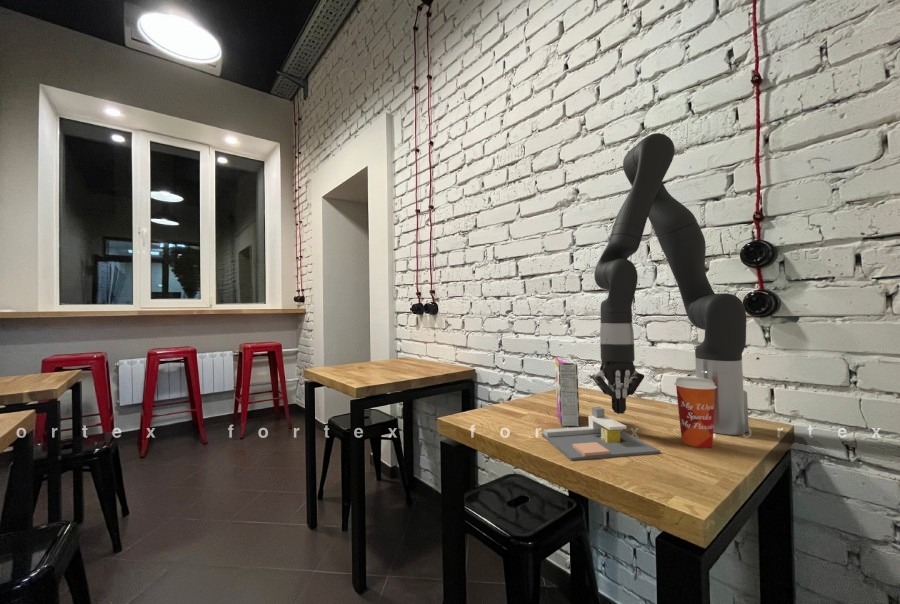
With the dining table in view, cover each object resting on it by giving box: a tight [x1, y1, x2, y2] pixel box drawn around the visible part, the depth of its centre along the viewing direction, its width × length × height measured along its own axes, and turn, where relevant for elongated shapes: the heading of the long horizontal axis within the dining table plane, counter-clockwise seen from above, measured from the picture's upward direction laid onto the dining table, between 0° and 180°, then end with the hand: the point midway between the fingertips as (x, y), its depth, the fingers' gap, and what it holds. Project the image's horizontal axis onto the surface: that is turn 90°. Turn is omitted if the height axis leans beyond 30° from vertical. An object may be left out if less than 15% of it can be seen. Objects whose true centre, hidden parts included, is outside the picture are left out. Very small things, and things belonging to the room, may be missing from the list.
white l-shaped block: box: [588, 406, 627, 430], centre depth 82 cm, size 4×9×5 cm, turn 8°
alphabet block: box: [600, 426, 621, 443], centre depth 81 cm, size 3×3×3 cm
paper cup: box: [673, 376, 717, 449], centre depth 78 cm, size 8×8×14 cm
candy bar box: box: [554, 356, 581, 428], centre depth 96 cm, size 11×5×16 cm, turn 168°
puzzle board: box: [541, 426, 661, 461], centre depth 79 cm, size 20×15×2 cm
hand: (619, 412), depth 86 cm, fingers closed
